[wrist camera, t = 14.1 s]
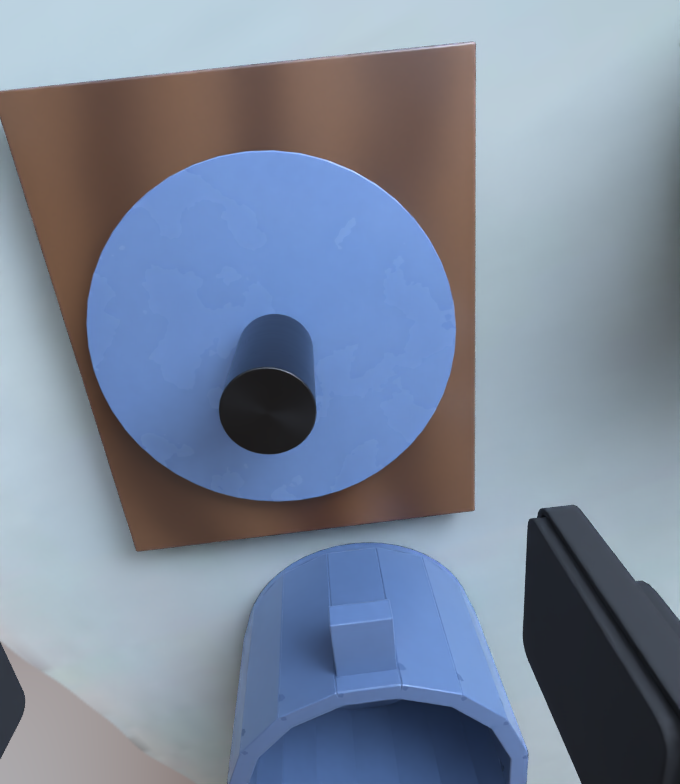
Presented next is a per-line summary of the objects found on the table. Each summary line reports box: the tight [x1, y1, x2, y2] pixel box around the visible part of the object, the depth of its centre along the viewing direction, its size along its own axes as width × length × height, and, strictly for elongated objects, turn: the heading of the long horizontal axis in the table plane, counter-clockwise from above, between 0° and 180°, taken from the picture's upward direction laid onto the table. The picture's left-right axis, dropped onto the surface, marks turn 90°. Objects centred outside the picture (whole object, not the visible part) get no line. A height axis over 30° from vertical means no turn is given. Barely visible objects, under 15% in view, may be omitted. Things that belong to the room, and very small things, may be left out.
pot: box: [227, 543, 528, 784], centre depth 27 cm, size 13×18×8 cm
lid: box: [86, 150, 456, 501], centre depth 19 cm, size 14×14×7 cm
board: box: [0, 41, 476, 552], centre depth 23 cm, size 16×19×2 cm
